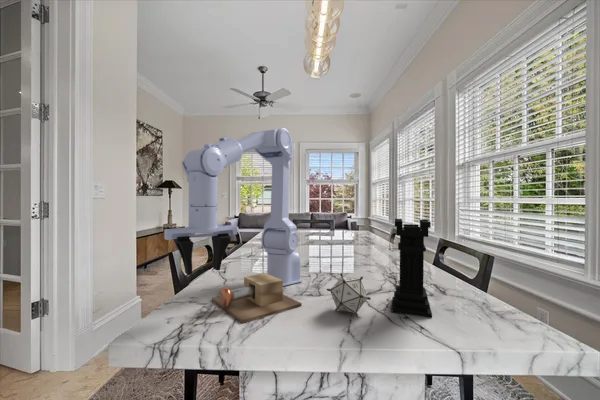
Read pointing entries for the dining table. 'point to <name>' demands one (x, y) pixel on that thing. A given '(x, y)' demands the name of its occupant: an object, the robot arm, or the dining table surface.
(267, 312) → the block
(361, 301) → the game die
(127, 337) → the dining table surface
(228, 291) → the pin
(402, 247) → the chess piece
